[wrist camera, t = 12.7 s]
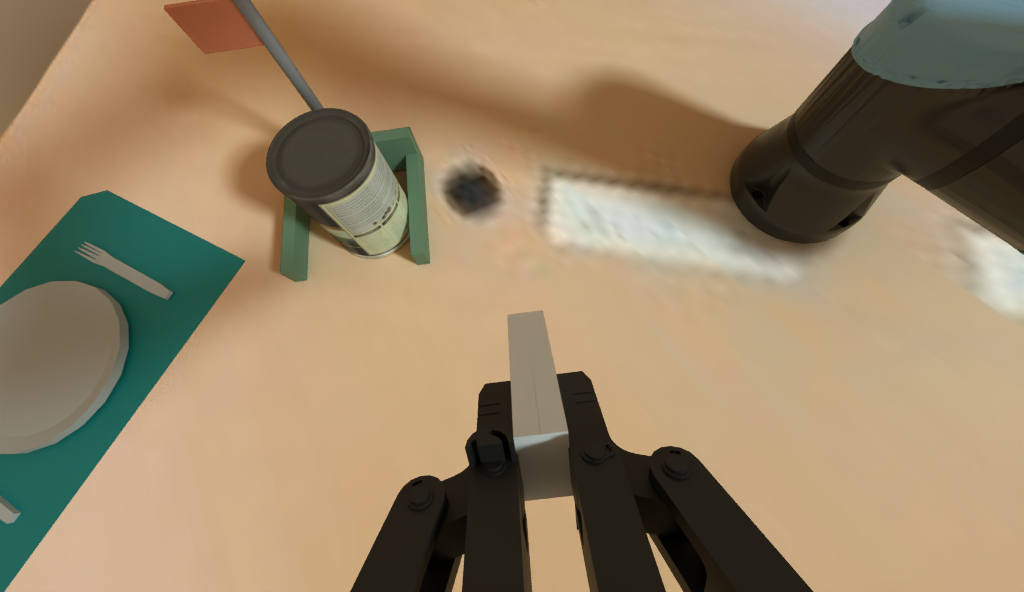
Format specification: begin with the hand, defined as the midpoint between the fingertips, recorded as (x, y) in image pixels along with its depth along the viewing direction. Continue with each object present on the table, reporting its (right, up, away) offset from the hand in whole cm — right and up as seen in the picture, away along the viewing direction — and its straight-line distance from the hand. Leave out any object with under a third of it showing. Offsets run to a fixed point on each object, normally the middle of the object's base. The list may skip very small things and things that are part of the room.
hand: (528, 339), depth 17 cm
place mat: (-57, -7, +31) cm, 65 cm away
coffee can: (-18, +11, +34) cm, 40 cm away
